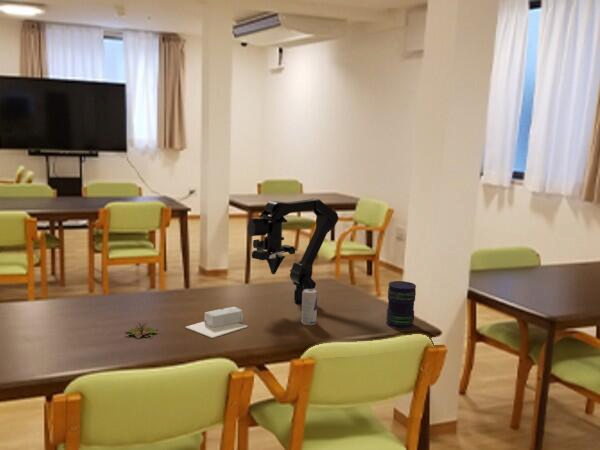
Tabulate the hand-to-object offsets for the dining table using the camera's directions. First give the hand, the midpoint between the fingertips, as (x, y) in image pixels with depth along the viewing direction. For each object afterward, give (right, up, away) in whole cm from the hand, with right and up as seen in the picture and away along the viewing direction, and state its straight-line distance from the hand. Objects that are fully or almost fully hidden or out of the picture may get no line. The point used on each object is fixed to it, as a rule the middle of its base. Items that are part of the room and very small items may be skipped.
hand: (273, 274), depth 231 cm
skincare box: (-12, -13, -16) cm, 24 cm away
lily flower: (-43, -18, -31) cm, 55 cm away
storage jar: (+46, -17, -14) cm, 51 cm away
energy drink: (+13, -17, -16) cm, 26 cm away
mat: (-19, -17, -23) cm, 34 cm away
